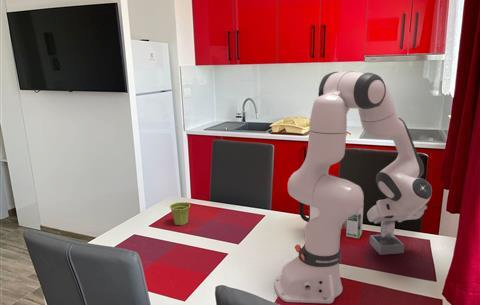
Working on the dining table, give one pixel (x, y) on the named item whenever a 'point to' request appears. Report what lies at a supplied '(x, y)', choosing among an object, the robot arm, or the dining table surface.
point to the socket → (386, 246)
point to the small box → (344, 225)
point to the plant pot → (180, 212)
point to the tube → (387, 232)
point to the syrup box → (355, 224)
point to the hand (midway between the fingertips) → (387, 221)
